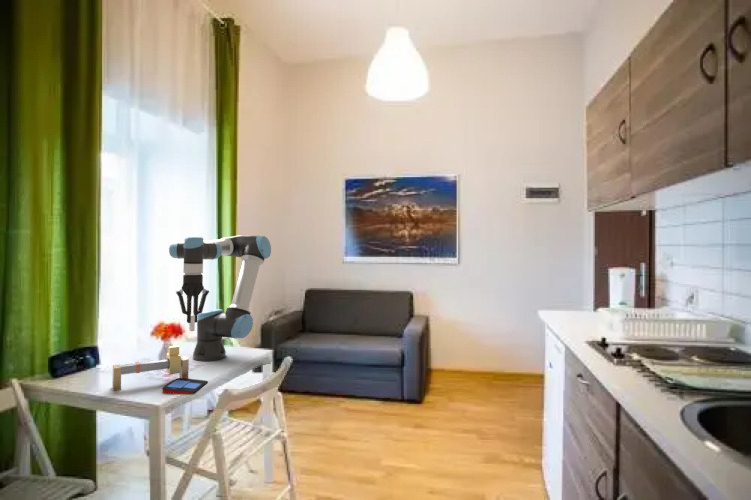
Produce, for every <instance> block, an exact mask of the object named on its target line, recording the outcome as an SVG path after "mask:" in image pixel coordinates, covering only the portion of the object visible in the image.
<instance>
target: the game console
mask: <svg viewBox="0 0 751 500" xmlns="http://www.w3.org/2000/svg"><path fill="white" fill-rule="evenodd" d="M208 383H209V381H208V380H204V379H196V378H195V379H194V378H188V379H186V378H179V377H178V378H175V379H173V380H172V381H170V382H169V383H167V384H166V385H164V386H162V388H161V389H162V393H163V394H172V395H175V394H176V395H177V394H179V395H181V394H182V395H193V394H196V393H197V392H198V391H200V390H201V389H202V388H203V387H204V386H206V385H207V384H208Z"/></svg>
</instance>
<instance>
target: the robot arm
mask: <svg viewBox="0 0 751 500" xmlns="http://www.w3.org/2000/svg"><path fill="white" fill-rule="evenodd" d="M168 252H169V256H171V258H173V259H180V260H181V259H183V275H182V281H183V282H182V286H181V288H180V289H179V290H176V291H175V294H176V295H177V297H178V301H179V306H180V308H181V313H182V314H183V315H186V322H187V324H189V327H188V329H189V330H188V331H189V332H195V331H196V335H197V337H196V343H195V347H194V349H193V353H192V359H193V360H195V361H202V362H207V361H218V360H222V359H224V358H225V357H226V355H227V353H226V352H227V350H226V348H225V345H224V343H223V338H226V339H227V338H230V339H235V340H237V339H245V338H246V337H247V336H249V335H250V333H251V332H252V329H253V327H254V322H253V321H254V318H253V316H252V314H251V311H250V305H251V301H252V297H253V293H254V289H255V285H256V282H257V281H256V280H257V278H258V273H259V270H260V267H261V265H264V261H265V259H268V258H270V256H271V253H272V245H271V242H270V240H269V238H268V237H267V236H263V235H234V236H227V237H222V238H220V239H212V240H211V239H209V240H204V238H203V237H202V236H186V237H185V238H184V241H173V242H171V244H170V245H169V247H168ZM221 256H223V257H235V258H240V259H241V261H242V264H241V268H240V271H239V275H238V277H237V278H238V279H237V282H236V286H235V290H234V293H233V297H232V300H231V303H230V305H229V306H227V307H226V310H225V312H224V309H222V308H219V309H218V308H217V309H211V310H210V309H209V310H208V309H207V310H204V307H205V302H206V299H207V296H208V294H209V293H210V291H209V290H208V289H205V287H204V283H203V282H204V281H203V280H204V276H203V273H204V260H212V261H213V260H216V259H219V258H220V257H221ZM183 294H185V296H186V305H185V299H184V296H183ZM200 294H202V295H201V297H200V301H199V296H200ZM192 300H193V305H192ZM199 302H200V303H199ZM192 306H193V309H192ZM192 310H193V311H192ZM192 313H193V314H192ZM195 323H197V325H195ZM195 326H197V328H196V330H195ZM223 357H224V358H223ZM221 358H222V359H221Z"/></svg>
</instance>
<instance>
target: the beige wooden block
mask: <svg viewBox="0 0 751 500" xmlns="http://www.w3.org/2000/svg"><path fill="white" fill-rule="evenodd" d="M181 357H182V356H181V354H180V346H179V345H171V346H168V352H166V359H169V368H168V369H166V371H167V373H168V374H169V375H177V374H180V373H181Z"/></svg>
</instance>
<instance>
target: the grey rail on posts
mask: <svg viewBox="0 0 751 500" xmlns="http://www.w3.org/2000/svg"><path fill="white" fill-rule="evenodd" d="M189 360H190V359H189V358H188V356H181V373H179V377H178V378H186V379H189V370H190V369H189V365H190V364H189ZM168 368H169V359H167V358H166V359H161V360H152V361H142V362H139V361H137V362H134V363H126V364H113V365H112V386H111V387H112V390H113V392H115V391H116V392H117V391H121V390H122V375H129V374H140V373H145V372H152V371H159V370H167V369H168Z"/></svg>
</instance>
